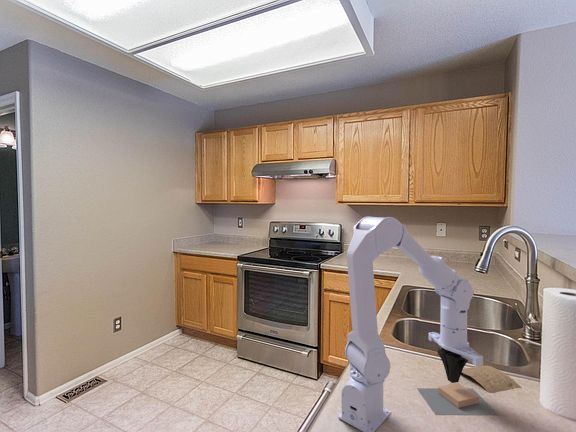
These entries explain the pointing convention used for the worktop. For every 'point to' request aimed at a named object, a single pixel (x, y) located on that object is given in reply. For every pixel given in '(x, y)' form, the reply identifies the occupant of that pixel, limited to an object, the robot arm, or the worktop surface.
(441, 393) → the tile
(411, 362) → the worktop surface
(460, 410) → the mat
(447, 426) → the worktop surface
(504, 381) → the clay tablet
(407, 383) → the worktop surface
